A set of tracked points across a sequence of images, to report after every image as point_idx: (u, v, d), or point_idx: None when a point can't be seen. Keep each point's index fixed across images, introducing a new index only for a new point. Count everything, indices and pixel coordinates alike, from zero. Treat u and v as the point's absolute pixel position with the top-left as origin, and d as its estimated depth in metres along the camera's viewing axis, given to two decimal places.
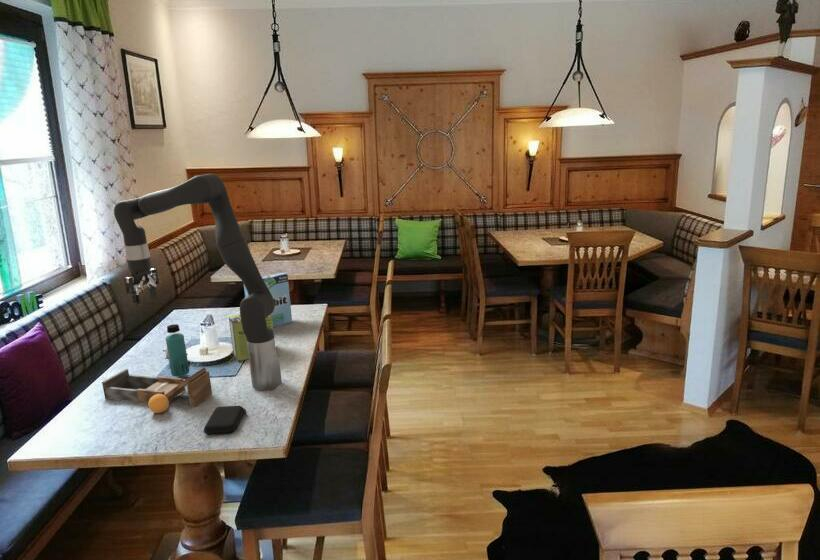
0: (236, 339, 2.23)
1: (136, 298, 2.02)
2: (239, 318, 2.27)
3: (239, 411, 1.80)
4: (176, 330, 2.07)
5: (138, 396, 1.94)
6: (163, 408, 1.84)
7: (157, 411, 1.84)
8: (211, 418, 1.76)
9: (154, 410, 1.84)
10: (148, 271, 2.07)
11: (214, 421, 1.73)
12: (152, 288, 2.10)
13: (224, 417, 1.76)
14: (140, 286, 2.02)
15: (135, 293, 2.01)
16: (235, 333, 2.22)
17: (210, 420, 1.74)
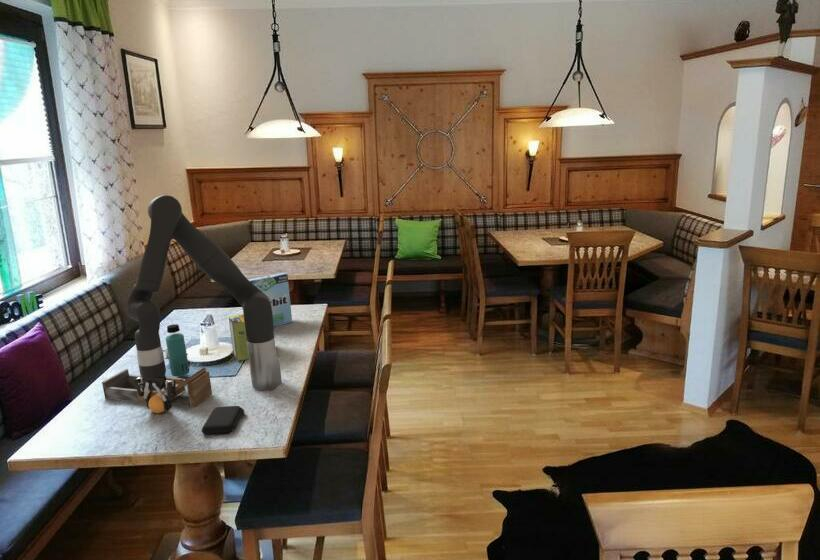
0: (236, 339, 2.23)
1: None
2: (239, 318, 2.27)
3: (238, 411, 1.80)
4: (176, 330, 2.07)
5: (138, 396, 1.94)
6: (163, 408, 1.84)
7: (157, 411, 1.84)
8: (209, 418, 1.76)
9: (154, 410, 1.84)
10: None
11: (212, 422, 1.73)
12: (150, 397, 1.87)
13: (222, 417, 1.76)
14: None
15: None
16: (235, 333, 2.22)
17: (208, 420, 1.74)
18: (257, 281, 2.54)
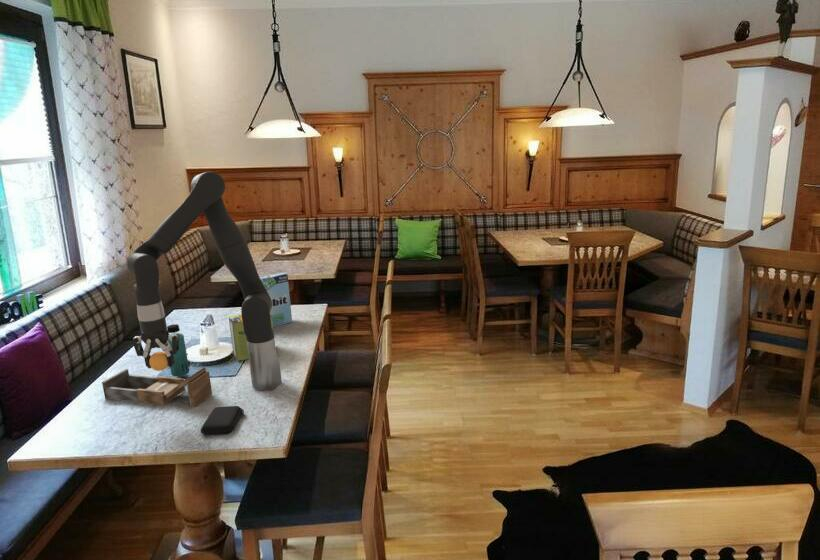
0: (236, 339, 2.23)
1: None
2: (239, 318, 2.27)
3: (237, 411, 1.80)
4: (176, 330, 2.07)
5: (138, 396, 1.94)
6: (166, 364, 1.82)
7: (161, 368, 1.81)
8: (208, 418, 1.75)
9: (158, 367, 1.81)
10: None
11: (211, 422, 1.73)
12: (149, 356, 1.83)
13: (221, 417, 1.76)
14: None
15: None
16: (235, 333, 2.22)
17: (207, 420, 1.74)
18: None
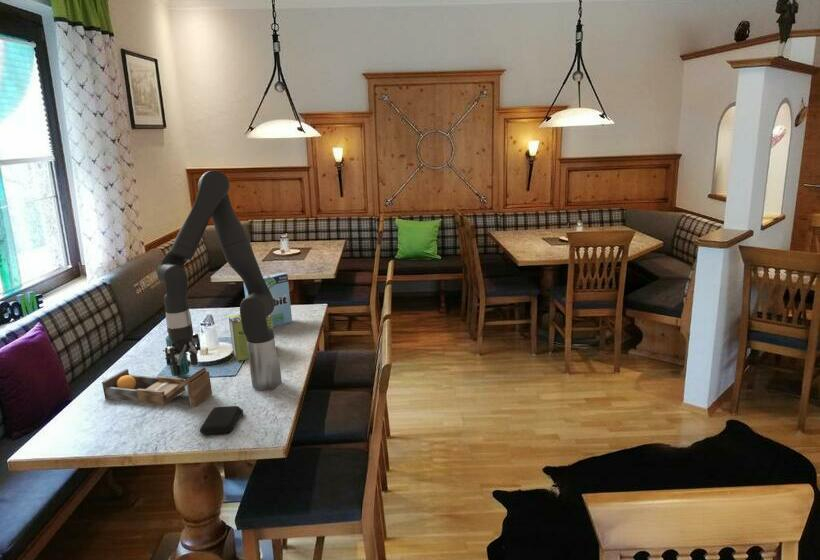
0: (236, 339, 2.23)
1: None
2: (239, 318, 2.27)
3: (236, 411, 1.80)
4: None
5: (138, 396, 1.94)
6: None
7: None
8: (208, 418, 1.75)
9: None
10: None
11: (211, 422, 1.73)
12: None
13: (220, 418, 1.75)
14: None
15: (192, 351, 1.96)
16: (235, 333, 2.22)
17: (206, 420, 1.74)
18: None
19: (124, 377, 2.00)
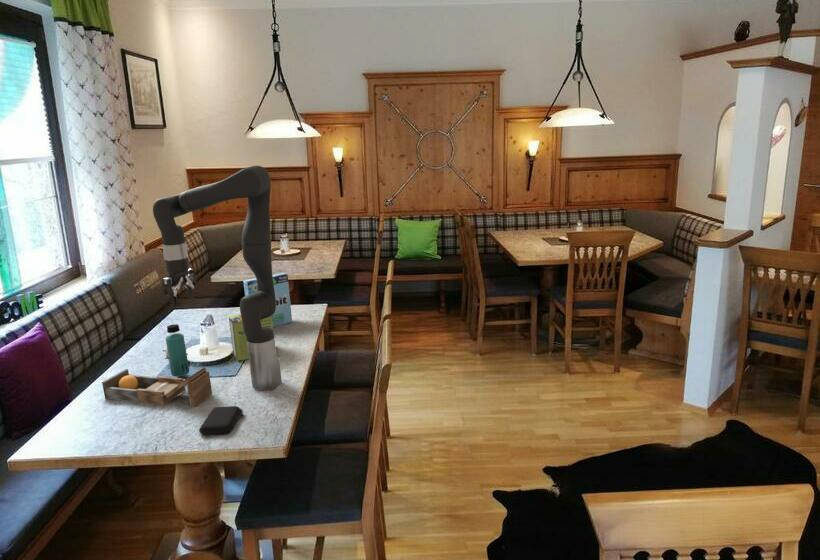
0: (236, 339, 2.23)
1: None
2: (239, 318, 2.27)
3: (236, 411, 1.80)
4: (176, 330, 2.07)
5: (138, 396, 1.94)
6: None
7: None
8: (207, 418, 1.75)
9: None
10: None
11: (210, 422, 1.73)
12: None
13: (220, 418, 1.75)
14: None
15: None
16: (235, 333, 2.22)
17: (206, 420, 1.74)
18: None
19: (128, 378, 1.99)
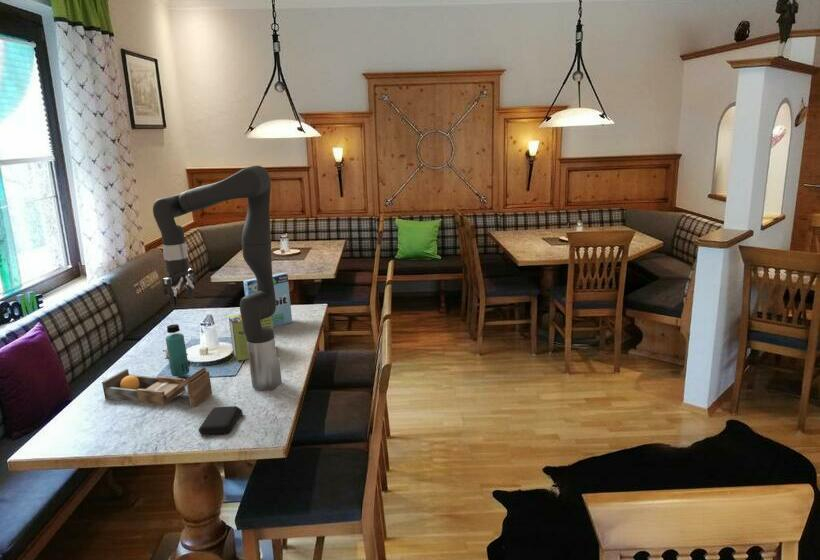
0: (236, 339, 2.23)
1: None
2: (239, 318, 2.27)
3: (235, 411, 1.80)
4: (176, 330, 2.07)
5: (138, 396, 1.94)
6: None
7: None
8: (207, 418, 1.75)
9: None
10: None
11: (210, 422, 1.73)
12: None
13: (219, 418, 1.75)
14: None
15: None
16: (235, 333, 2.22)
17: (205, 420, 1.74)
18: None
19: (131, 379, 1.99)
